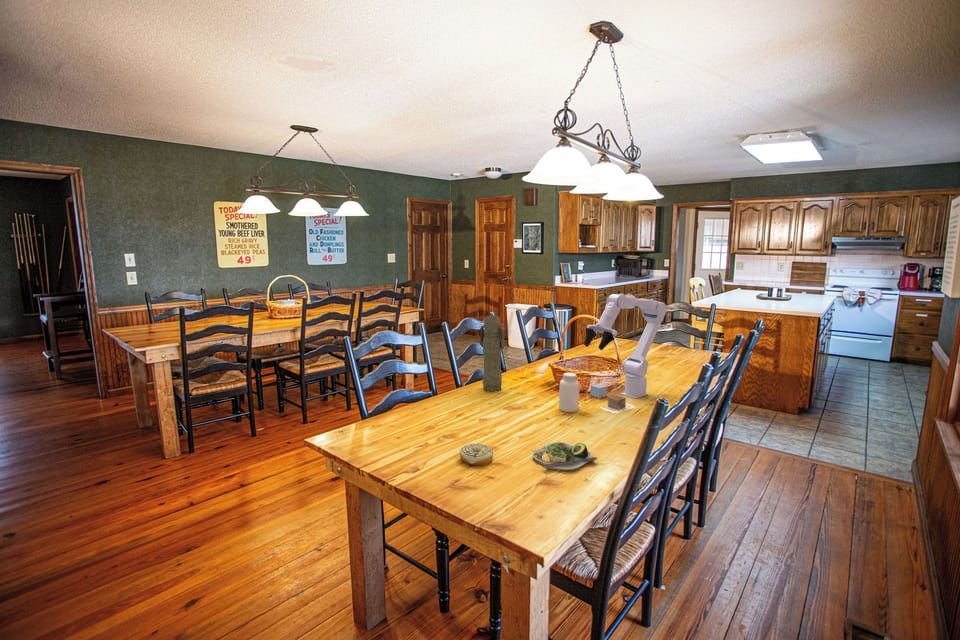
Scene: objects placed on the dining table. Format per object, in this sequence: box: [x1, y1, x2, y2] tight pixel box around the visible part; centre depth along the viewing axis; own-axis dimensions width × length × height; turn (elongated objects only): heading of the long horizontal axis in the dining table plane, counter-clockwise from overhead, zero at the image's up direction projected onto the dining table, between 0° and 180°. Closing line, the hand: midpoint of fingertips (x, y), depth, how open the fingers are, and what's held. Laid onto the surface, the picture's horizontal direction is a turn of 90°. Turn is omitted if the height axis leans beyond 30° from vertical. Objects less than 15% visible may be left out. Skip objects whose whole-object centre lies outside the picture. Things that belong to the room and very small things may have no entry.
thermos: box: [479, 314, 505, 393], centre depth 219 cm, size 9×12×35 cm
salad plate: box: [532, 441, 598, 471], centre depth 148 cm, size 19×18×5 cm
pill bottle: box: [558, 372, 580, 413], centre depth 193 cm, size 8×8×15 cm
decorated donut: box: [459, 443, 494, 466], centre depth 149 cm, size 10×11×4 cm
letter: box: [596, 402, 637, 415], centre depth 196 cm, size 14×10×1 cm
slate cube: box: [589, 383, 608, 399], centre depth 210 cm, size 5×5×5 cm
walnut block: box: [607, 394, 627, 410], centre depth 196 cm, size 5×5×4 cm
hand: (592, 347), depth 193 cm, fingers open, 7 cm apart
